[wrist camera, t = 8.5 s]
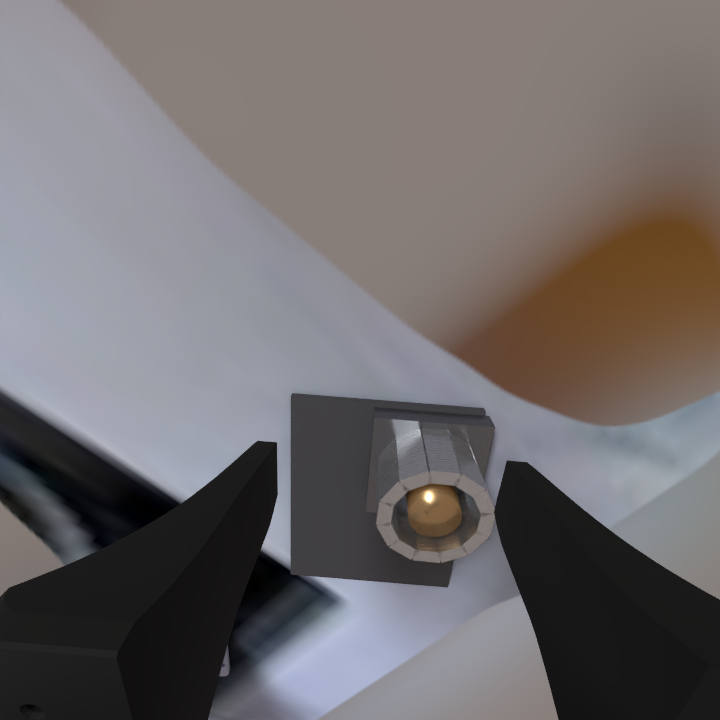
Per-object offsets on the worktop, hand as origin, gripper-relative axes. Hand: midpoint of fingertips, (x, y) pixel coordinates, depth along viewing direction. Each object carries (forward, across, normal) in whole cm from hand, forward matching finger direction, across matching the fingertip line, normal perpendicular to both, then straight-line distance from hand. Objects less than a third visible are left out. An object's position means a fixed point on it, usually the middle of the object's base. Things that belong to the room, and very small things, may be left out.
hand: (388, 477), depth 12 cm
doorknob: (+10, -3, +6) cm, 12 cm away
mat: (+10, 0, +10) cm, 14 cm away
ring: (+8, -3, +6) cm, 11 cm away
